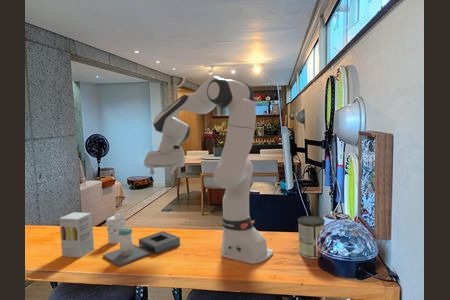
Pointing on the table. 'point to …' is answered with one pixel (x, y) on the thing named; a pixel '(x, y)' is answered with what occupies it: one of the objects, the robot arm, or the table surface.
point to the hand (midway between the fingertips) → (161, 173)
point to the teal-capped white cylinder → (126, 242)
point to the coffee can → (309, 235)
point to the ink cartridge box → (115, 226)
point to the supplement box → (76, 234)
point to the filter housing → (159, 242)
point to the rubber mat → (123, 260)
